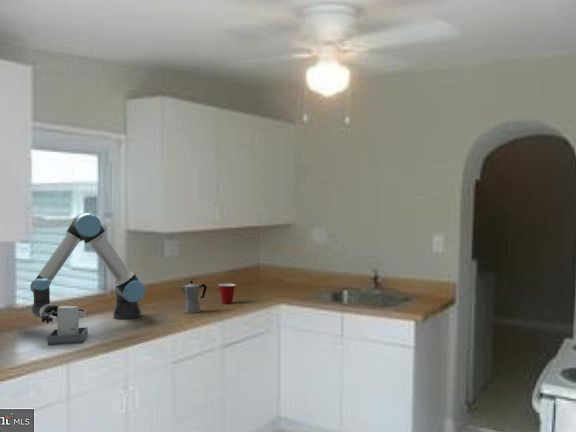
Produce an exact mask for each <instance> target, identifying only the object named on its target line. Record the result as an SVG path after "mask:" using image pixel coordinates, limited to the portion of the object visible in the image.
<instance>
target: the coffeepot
mask: <svg viewBox="0 0 576 432" xmlns="http://www.w3.org/2000/svg"><path fill="white" fill-rule="evenodd" d="M193 282H194V281H193V280H189V284H186V285H183V286H180V287H179V288H180V289H181V290H182V291H183V293H184V298H185V304H184V313H185V314H197V313H200V312H201V306H200V303H199V302H200V301H199V298H200V299H203V298H205V294H206V291H207V289H208V287H207V285H206V284H205V283H198V284H196V283H193ZM200 288H203V290H202V294H201V295H202V296H200V297H199V295H200Z"/></svg>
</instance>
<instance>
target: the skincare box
mask: <svg viewBox="0 0 576 432" xmlns="http://www.w3.org/2000/svg"><path fill="white" fill-rule="evenodd" d="M79 309H80V307H79V306H78V305H61V306H58V315H57V323H56V324H57V325H56V327H57V328H56V329H57V336H59V335H74V334H79V328H80V327H79V326H80V325H79V324H80V323H79V322H80V321H79V320H80V319H79V318H80V317H79Z"/></svg>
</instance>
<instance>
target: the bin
mask: <svg viewBox="0 0 576 432" xmlns="http://www.w3.org/2000/svg"><path fill="white" fill-rule="evenodd" d="M88 333H89V331H88V326H85V327H79V334H74V335H59V336H57V328H56V329H53V330H52V331H51V332H50V333H49V335H48V336H47V346H58V345H59V346H61V345H72V344H83V343H84V342H85V341H86V339H87V337H88V336H89V334H88Z"/></svg>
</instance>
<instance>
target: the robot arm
mask: <svg viewBox="0 0 576 432" xmlns="http://www.w3.org/2000/svg"><path fill="white" fill-rule="evenodd" d="M65 233H66V235H65V236H64V238H63V239H61V242H60V243H59V245H58V246H57V247H56V248H55V250H54V252H53V254H51V256H50V257H49V259H48V261H47V262H46V263H45V265H44V266H43V267H42V269H41V270H40V272H39V273H38V274H37V276H36V277H35V279H34V280H32V281H31V284H30V288H29V289H30V291H31V292H32V294H33V295H32V296H33V304H32V305H31V308H30V312H31V314H32V315H33V316H35V317H36V318H40V319H41V323H46V324H50V323H54V324H57V315H58V307H59V305H55V304H52V303H51V295H50V290H51V289H50V286H51V284H52V282H53V281H54V279H55V278H56V277H57V275H58V273H60V272H59V271H60V270H61V269H62V268H63V266H64V265H65V263H66V262H67V260H69V257H70V256H71V254H72V253H73V251H74V250H75V249H76V248H77V246H78V245H79V243H81V242H84V243H85V244H88V245H90V246H91V248H92V249H93V251H94V252H95V253H96V255H97V257H98V258H99V259H100V261H101V262H102V264H103V265H104V266H105V268H106V269H107V270H108V272H109V274H110V275H111V276H112V278H113V279H114V286H115V307H114V310H113V314H112V315H113V316H112V317H113V318H114V319H117V320H131V319H136V318H137V319H138V318H139V317H142V310H141V307H140V304H139V302H140V301H141V300H142V299H143V298H144V297H145V294H146V286H145V285H144V283H143V282H142V281H140V279H139V278H138V276H137V275H136V273H135V272H133V271H130V269H128V267H127V266H126V264H125V263H124V262H123V259H122V258H121V257H120V256H119V254H118V253H117V251H116V250H115V248H114V247H113V245H112V243H110V241H109V239H108V237H106V235H105V234H106V230H105V227H103V225H102V223H101V220H100V218H99V217H97V215H95V214H93V213H85V212H84V213H83V212H82V213H79V214H77V215H76V216H75V217H74V218H73V220H72V222H71V223H70V225H69V227H68V229H66V231H65ZM79 318H82V319H86V312H85V311H84V309H81V308H79Z"/></svg>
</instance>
